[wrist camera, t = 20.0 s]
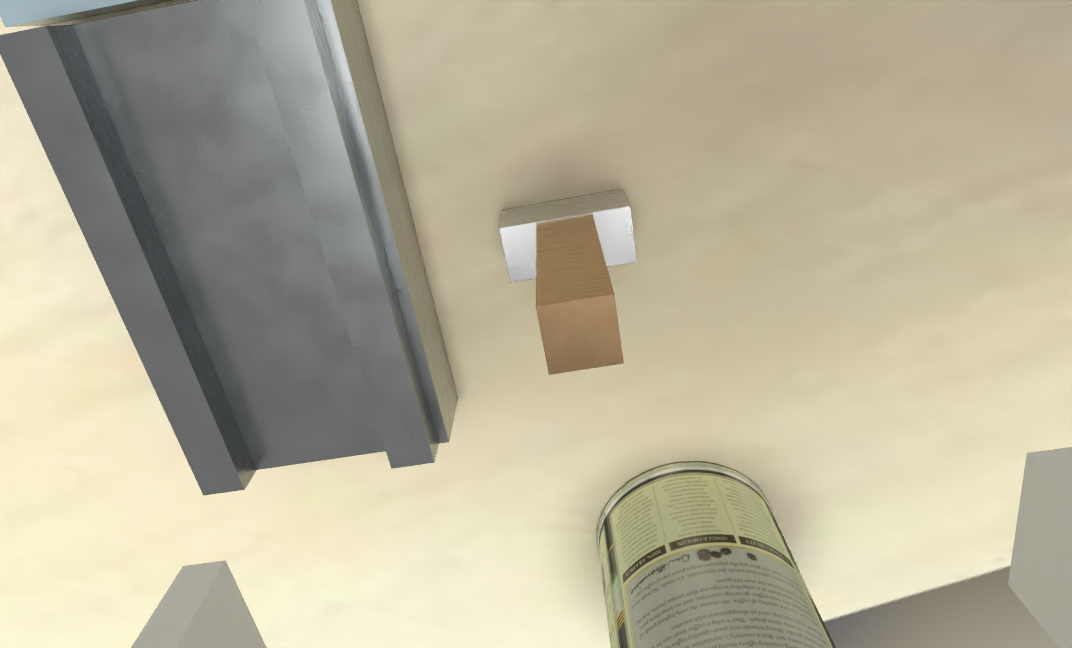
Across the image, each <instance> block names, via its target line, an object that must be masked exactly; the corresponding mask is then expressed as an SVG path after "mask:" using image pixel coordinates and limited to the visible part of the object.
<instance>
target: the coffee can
mask: <svg viewBox="0 0 1072 648" xmlns="http://www.w3.org/2000/svg"><path fill="white" fill-rule="evenodd" d="M597 546H598V552H599V555H600V560H601V568H602V577H603V586H604V595H605V603H606V610H607V619H608V628H609V636H610V644H611V648H835V645H834V643H833V641H832V639H831V637H830V635H829V633H828V631H827V629H826V627H825V625H824V622H823V620H822V618H821V616H820V614H819V612H818V610H817V608H816V606H815V604H814V602H813V599H812V597H811V595H810V593H809V591H808V589H807V587H806V584H805V582H804V580H803V578H802V576H801V574H800V572H799V569H798V567H797V565H796V563H795V561H794V559H793V556H792V554H791V552H790V550H789V548H788V546H787V544H786V542H785V539H784V537H783V535H782V533H781V531H780V529H779V527H778V525H777V523H776V520H775V518H774V516H773V513H772V510H771V507H770V505H769V503H768V501H767V499H766V497H765V495H764V494H763V493H762V491H761V490H760V489H759V488H758V487H757V485H756V484H754V483H753V482H752V481H750V480H749V479H748V478H746V477H745V476H743V475H742V474H740V473H738V472H736V471H734V470H731V469H729V468H726V467H723V466H719V465H716V464H711V463H705V462H689V463H684V462H683V463H674V464H669V465H665V466H662V467H658V468H655V469H653V470H650V471H648V472H646V473H643V474H641V475H640V476H638V477H636V478H634V479H632V480H631V481H629V482H628V483H627V484H626V485H625V486H624V487H623V488H621V489H620V490H619V491H618V492H617V493H616V494H615V495H614V496H613V497H612V498H611V500H610V501H609V502H608V504H607V505H606V507H605V509H604V510H603V513H602V515H601V518H600V520H599V524H598V527H597Z"/></svg>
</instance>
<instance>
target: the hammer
mask: <svg viewBox="0 0 1072 648" xmlns="http://www.w3.org/2000/svg"><path fill="white" fill-rule="evenodd" d="M499 230H500V235H501V240H502V245H503V250H504V255H505V260H506V264H507V269H508V274H509V279H510V282H516V281H522V280H529V279H535V278H536V309H537V314H538V319H539V325H540V330H541V335H542V340H543V345H544V351H545V356H546V361H547V366H548V372H549V375H550V374H557V373H563V372H570V371H576V370H583V369H589V368H596V367H602V366H609V365H615V364H622V363H623V355H622V348H621V341H620V334H619V327H618V319H617V312H616V305H615V298H614V292H613V289H612V285H611V281H610V277H609V274H608V270H607V267H608V266H614V265H620V264H626V263H632V262H637V258H636V250H635V241H634V233H633V225H632V217H631V208H630V205H629V202H628V200H627V198H626V196H625V194H624V192H623V189H619V190H613V191H608V192H602V193H596V194H590V195H584V196H578V197H573V198H567V199H561V200H555V201H549V202H544V203H538V204H532V205H526V206H520V207H514V208H509V209H503V210H502V215H501V220H500V226H499Z"/></svg>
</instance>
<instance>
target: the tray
mask: <svg viewBox="0 0 1072 648" xmlns="http://www.w3.org/2000/svg"><path fill="white" fill-rule="evenodd" d="M166 1H171V0H0V16H1V19H2V21H3V23H4V25H5V27H12V26H36V25H50V24H55V23H60V22H65V21H70V20H75V19H80V18H85V17H90V16H95V15H100V14H105V13H110V12H116V11H121V10H126V9H131V8H136V7H141V6H146V5H151V4H156V3H161V2H166Z"/></svg>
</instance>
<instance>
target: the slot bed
mask: <svg viewBox="0 0 1072 648" xmlns="http://www.w3.org/2000/svg"><path fill="white" fill-rule="evenodd" d="M0 54H1V57H2V59H3V61H4V63H5V65H6V68H7V70H8V72H9V74H10V76H11V78H12V81H13V83H14V85H15V87H16V89H17V91H18V94H19V96H20V98H21V100H22V102H23V104H24V107H25V109H26V111H27V113H28V115H29V117H30V120H31V122H32V124H33V126H34V128H35V131H36V133H37V135H38V137H39V139H40V141H41V144H42V146H43V148H44V150H45V152H46V154H47V157H48V159H49V161H50V163H51V165H52V167H53V170H54V172H55V174H56V176H57V178H58V180H59V183H60V185H61V187H62V189H63V191H64V194H65V196H66V198H67V200H68V202H69V204H70V207H71V209H72V211H73V213H74V215H75V217H76V220H77V222H78V224H79V226H80V228H81V230H82V233H83V235H84V237H85V239H86V241H87V243H88V246H89V248H90V250H91V252H92V254H93V257H94V259H95V261H96V263H97V265H98V267H99V270H100V272H101V274H102V276H103V278H104V280H105V283H106V285H107V287H108V289H109V291H110V293H111V296H112V298H113V300H114V302H115V304H116V306H117V309H118V311H119V313H120V315H121V317H122V320H123V322H124V324H125V326H126V328H127V330H128V333H129V335H130V337H131V339H132V341H133V343H134V346H135V348H136V350H137V352H138V354H139V356H140V359H141V361H142V363H143V365H144V367H145V369H146V372H147V374H148V376H149V378H150V380H151V383H152V385H153V387H154V389H155V391H156V393H157V396H158V398H159V400H160V402H161V404H162V406H163V409H164V411H165V413H166V415H167V417H168V419H169V422H170V424H171V426H172V428H173V430H174V433H175V435H176V437H177V439H178V441H179V443H180V446H181V448H182V450H183V452H184V454H185V456H186V459H187V461H188V463H189V465H190V467H191V469H192V472H193V474H194V476H195V478H196V480H197V482H198V485H199V487H200V489H201V491H202V493H203V495H210V494H217V493H224V492H231V491H238V490H245V488H246V486H247V485H248V483H249V481H250V480H251V478H252V476H253V475H254V473H255V471H256V470H259V469H266V468H273V467H279V466H286V465H293V464H300V463H307V462H314V461H321V460H328V459H335V458H342V457H348V456H355V455H362V454H369V453H376V452H383V451H386V453H387V456H388V459H389V462H390V465H391V469H392V468H399V467H406V466H413V465H420V464H427V463H434V462H435V457H436V453H437V448H438V444H439V443H445V442H449V439H450V434H451V429H452V424H453V419H454V414H455V409H456V404H457V399H458V398H457V394H456V390H455V386H454V382H453V378H452V374H451V370H450V366H449V362H448V358H447V354H446V350H445V346H444V342H443V338H442V334H441V331H440V327H439V323H438V319H437V315H436V311H435V307H434V303H433V299H432V295H431V291H430V287H429V283H428V279H427V275H426V271H425V267H424V263H423V260H422V256H421V252H420V248H419V244H418V240H417V236H416V232H415V228H414V224H413V220H412V216H411V212H410V208H409V204H408V200H407V196H406V192H405V188H404V185H403V181H402V177H401V173H400V169H399V165H398V161H397V157H396V153H395V149H394V145H393V141H392V137H391V133H390V129H389V125H388V121H387V117H386V114H385V110H384V106H383V102H382V98H381V94H380V90H379V86H378V82H377V78H376V74H375V70H374V66H373V62H372V58H371V54H370V50H369V46H368V43H367V39H366V35H365V31H364V27H363V23H362V19H361V15H360V11H359V7H358V3H357V0H197V1H192V2H187V3H181V4H176V5H171V6H166V7H161V8H156V9H151V10H146V11H141V12H136V13H131V14H126V15H121V16H115V17H110V18H105V19H100V20H95V21H90V22H85V23H80V24H75V25H60V26H44V27H39V28H34V29H29V30H24V31H19V32H14V33H9V34H4V35H0Z"/></svg>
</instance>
